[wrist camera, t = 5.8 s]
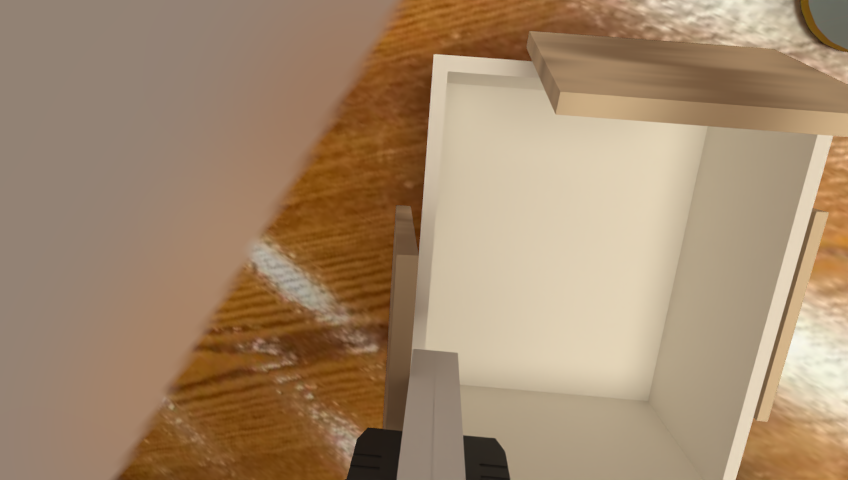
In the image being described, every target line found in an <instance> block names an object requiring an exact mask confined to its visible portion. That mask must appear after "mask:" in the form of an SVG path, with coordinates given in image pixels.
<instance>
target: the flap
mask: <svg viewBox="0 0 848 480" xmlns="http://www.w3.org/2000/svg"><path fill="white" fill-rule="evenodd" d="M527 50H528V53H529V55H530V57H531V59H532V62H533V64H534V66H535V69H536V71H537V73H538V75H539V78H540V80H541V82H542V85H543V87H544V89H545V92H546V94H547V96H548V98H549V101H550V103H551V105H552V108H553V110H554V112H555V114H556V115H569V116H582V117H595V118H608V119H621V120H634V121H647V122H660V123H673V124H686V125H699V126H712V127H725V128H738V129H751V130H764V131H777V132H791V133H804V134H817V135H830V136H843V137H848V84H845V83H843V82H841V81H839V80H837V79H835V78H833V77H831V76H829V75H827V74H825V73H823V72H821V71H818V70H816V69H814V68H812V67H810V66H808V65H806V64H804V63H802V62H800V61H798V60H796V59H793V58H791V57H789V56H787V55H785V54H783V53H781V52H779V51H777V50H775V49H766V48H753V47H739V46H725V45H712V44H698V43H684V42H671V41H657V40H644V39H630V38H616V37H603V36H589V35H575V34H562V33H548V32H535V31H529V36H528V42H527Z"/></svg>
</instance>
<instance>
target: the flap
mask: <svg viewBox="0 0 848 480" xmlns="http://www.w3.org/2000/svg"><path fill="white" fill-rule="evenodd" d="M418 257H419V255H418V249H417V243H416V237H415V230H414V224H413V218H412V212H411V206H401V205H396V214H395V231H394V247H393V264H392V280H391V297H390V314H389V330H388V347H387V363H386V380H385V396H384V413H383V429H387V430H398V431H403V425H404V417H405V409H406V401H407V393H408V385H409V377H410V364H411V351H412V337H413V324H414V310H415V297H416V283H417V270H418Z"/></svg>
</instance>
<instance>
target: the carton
mask: <svg viewBox="0 0 848 480" xmlns="http://www.w3.org/2000/svg"><path fill="white" fill-rule="evenodd" d="M832 138H833V136H830V135H817V134H804V133H791V132H777V131H764V130H751V129H738V128H725V127H712V126H699V125H686V124H673V123H660V122H647V121H634V120H621V119H608V118H595V117H582V116H569V115H556V114H555V112H554V110H553V108H552V105H551V103H550V101H549V98H548V96H547V94H546V92H545V89H544V87H543V85H542V82H541V80H540V78H539V75H538V73H537V71H536V69H535V66H534V64H533V62H532V61H520V60H506V59H493V58H479V57H466V56H453V55H439V54H434V58H433V72H432V85H431V98H430V112H429V125H428V139H427V152H426V166H425V179H424V192H423V206H422V219H421V233H420V246H419V259H418V273H417V286H416V300H415V313H414V326H413V340H412V353H413V349H422V350H433V351H444V352H455V353H458V363H459V379H460V395H461V411H462V428H463V435H466V436H477V437H488V438H496V440H497V441H498V442H499V444H500V445H501V446H502V448H503V449H504V451H505V453H506V458H507V464H508V469H509V475H510V480H736V477H737V473H738V470H739V466H740V463H741V459H742V455H743V452H744V448H745V445H746V441H747V438H748V434H749V431H750V427H751V424H752V420H753V417H754V418H755V419H756V420H757V421H767V422H768V418H769V415H770V412H771V408H772V405H773V401H774V398H775V394H776V391H777V388H778V384H779V381H780V377H781V374H782V371H783V367H784V364H785V360H786V357H787V353H788V350H789V347H790V343H791V340H792V336H793V333H794V330H795V326H796V323H797V319H798V316H799V312H800V309H801V306H802V302H803V299H804V295H805V292H806V289H807V285H808V282H809V278H810V275H811V271H812V268H813V265H814V261H815V258H816V254H817V251H818V248H819V244H820V241H821V237H822V234H823V230H824V227H825V224H826V220H827V217H828V213H829V212H825V211H821V210H817V209H814V208H813V205H814V201H815V198H816V194H817V191H818V187H819V184H820V180H821V177H822V173H823V170H824V166H825V163H826V159H827V155H828V152H829V148H830V145H831V141H832ZM412 353H411V361H412ZM410 369H411V367H410Z"/></svg>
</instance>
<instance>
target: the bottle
mask: <svg viewBox="0 0 848 480" xmlns="http://www.w3.org/2000/svg"><path fill="white" fill-rule="evenodd" d="M801 9H802V13H803V16H804V18H805V21H806V23H807V26H808V27H809V29H810V30H811V31H812V32H813V34H814V35H815V36H816V37H817V38H818V39H819V40H820V41H821V42H823V43H824V44H826V45H828V46H830V47H832V48H834V49H837V50H840V51H847V52H848V0H801Z"/></svg>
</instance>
